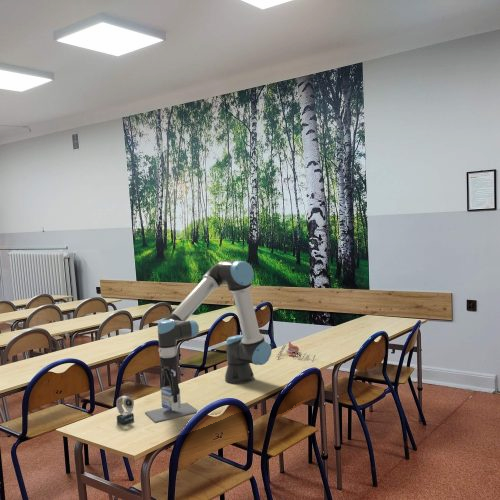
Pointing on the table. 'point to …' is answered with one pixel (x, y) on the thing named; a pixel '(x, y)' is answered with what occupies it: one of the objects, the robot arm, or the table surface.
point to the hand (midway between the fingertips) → (171, 406)
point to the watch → (128, 404)
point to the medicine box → (168, 398)
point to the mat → (170, 413)
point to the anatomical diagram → (292, 349)
